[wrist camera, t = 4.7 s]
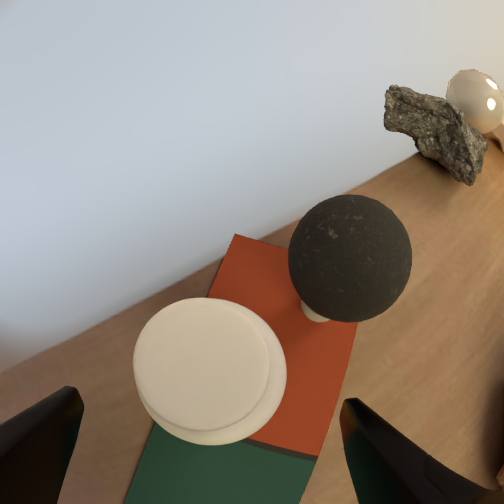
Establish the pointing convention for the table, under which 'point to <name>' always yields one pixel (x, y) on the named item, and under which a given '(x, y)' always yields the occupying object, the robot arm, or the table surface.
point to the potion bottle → (478, 101)
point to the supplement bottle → (209, 370)
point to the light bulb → (349, 259)
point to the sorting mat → (285, 417)
